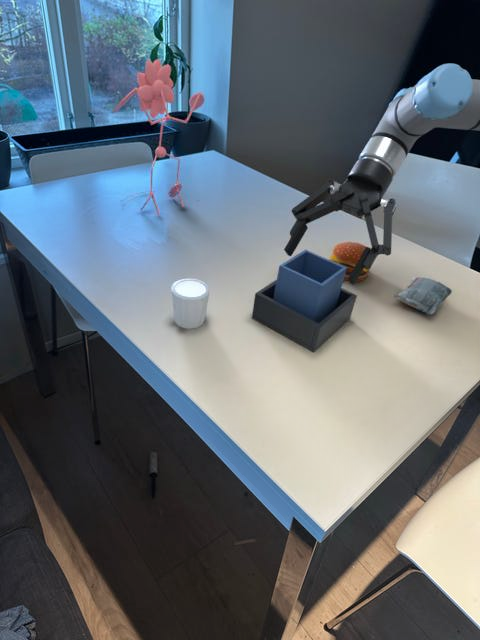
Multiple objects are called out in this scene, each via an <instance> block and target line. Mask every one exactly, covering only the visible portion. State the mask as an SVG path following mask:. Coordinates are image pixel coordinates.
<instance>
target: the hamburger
mask: <svg viewBox="0 0 480 640" xmlns="http://www.w3.org/2000/svg"><path fill="white" fill-rule="evenodd" d="M366 247H367V246H365V245H364V244H361V243H359V242H353V241H345V242H342V243H341V242H340V243H338V244H336V245H335V246H334V247H333V249H332V254H331V256H330V257H329V259H328V260H331V261H333V262H335V263H337V264H340V265H342V266H344V267H347V270H346V273H345V277H344V280H343V281H348V282H349V279H348V277H349V276H350V274H351V272H352V271H353V269H354V267H355V265H356V264H357V262H358V260H359V259H360V257H361V255H362V253H363V252H364V250H365V248H366ZM371 268H372V266H371V267H370V268H369V269H368V270H367V269H365V268H364V269H363V270H362V272H361V274H360V276H359V277H358V279H357V281H356V282H361V281H364V280H366V279H367V278H368V277H369V273H370V269H371Z"/></svg>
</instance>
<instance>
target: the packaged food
mask: <svg viewBox="0 0 480 640" xmlns="http://www.w3.org/2000/svg"><path fill="white" fill-rule="evenodd" d="M452 292H453V290H452V289H451V288H450V287H448V286H446V285H444V284H443V283H442V282H440V281H437V280H436V279H435V280H434V279H432V278H429V277H428V278H426V277H423V276H413V277H412V282H411V283H410V284H409V285H408V286H407V287H406V288H404V289H403V290H402V291H400V292H398V293H397V294H393V297H394V298H395V299H398V300H399V301H400V302H402V303H404V304H406V305H408V306H410V307H411V308H413V309H416V310H418V311H420V312H422V313H424V314H425V315H428V316H433V315H435V313H436V311H437V310H438V309H439V308H440V307H441V305H442V303H443V302H445V301H446V300H447V298H448V297H449V296H450V295H451V294H452Z"/></svg>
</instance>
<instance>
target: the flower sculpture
mask: <svg viewBox="0 0 480 640" xmlns="http://www.w3.org/2000/svg"><path fill="white" fill-rule="evenodd" d="M171 72H172V66H171V65H170V64H163V66H162V62H161V59H159V58H157V59H155V60H154V61H152V60H150V59H147V60H146V63H145V67H144V72H140V71H138V73H137V74H136V75H137V76H136V79H137V84H138V85H139V87H134V89H132V90H131V91H129V93H127V94H126V95H125V96H124V97H123V98H122V99H121V100H120V102H119V103H118V104H117V105H116V106H115V108H114V109H113V111H112V112H111V113H112V114H115V113H117V111H118V110H120V109H121V108H122V107H123V106H125V105H126V103H127V102H128V101H129V100H130V99H131V98H132V96H133V95H134V94H136V95H137V98H138V100H139V102H140V103H139V110H140V111H141V112H144V113H145V115H146V117H147V119H148V122H149V124H150V126H152V125H155V124H157V123H160V122H162V123H161V124H160V132H159V142H158V146H157V148H156V149H155V151H154V154H155V155H154V160H153V163H152V166H151V169H150V191H149V196H148V198H147V199H146V201H145V203H144V204H143V205H142V207H141V208H140V211H143V209H144V208H145V206H146V205H147V204H148V203H149V202H150V200H151V199H152V201H153V204H154V208H155V211H156V214H157V216H158V217H160V216H161V214H160V210H159V208H158V205H157V202H156V199H155V196H154V194H155V192H156V191H155V190H153V169H154V167H155V163H156V160H157V158H159V159H163V158H165V157H166V156H168V157H170V158H172V159H174V160H177V161H178V162H177V170H176V178H175V184H174V185H173V186H172V187H171V188H170V189H169V191H168V196H169V197H170V199H174V198H175V197H176V196H177V195H178V199H179V202H180V204H181V207H182V208H184V207H185V205H184V202H183V199H182V195H181V190H182V187H183V186H182V184H181V183H178V181H179V172H180V163H181V160H180V158H178V157H175V156H174V155H171V154H169V153H167V150H166V148H165V147H164V146H162V138H163V131H164V126H165V124H166V123H167V122H168V121H170V120H172V121H175V122H179V123H183V124H188V123H189V121H190V119H191V116H192V114H193V112H194V111H196V110H198V109H199V108H201V107H202V106H203V105H204V104H205V96H204V93H202V92H201V91H198V92H197V93H194V94H193V95H192V96H191V97H190V98H189V101H188V103H189V104H188V105H189V107H190V111H189V113H188V115H187V117H186V119H185V120H184V119H180V118H177V117H173V116H171V115H170V114H169V111H168V107H167V104H173V103H174V102H175V94H174V91H173V89H172V88H173V87H174V81H173V80H172V78H171V74H172V73H171ZM148 111H149V112H148ZM159 114H160V115H164V114H165V116H164V117H161V118H159V119H156V120H154V121H152V119H155V118H156V117H158V115H159ZM144 193H147V191H144V192H143V191H142V194H144ZM140 194H141V192H139V193H136V194H135V193H132V194H131V195H129V196H127V197H125V199H124V200H122V199H121V200H120V202H124V201H125V200H127V199H129V198H130V197H133V196H136V195H140ZM196 201H197V202H199V203H200V200H199V199H196ZM120 206H122V204H120Z"/></svg>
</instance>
